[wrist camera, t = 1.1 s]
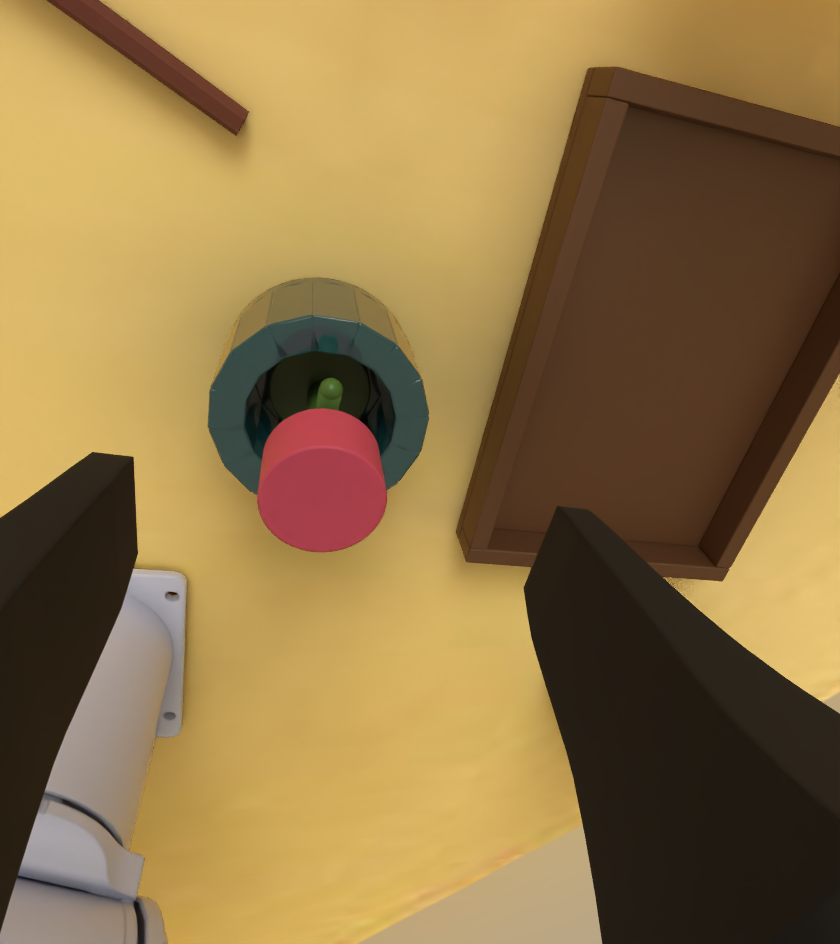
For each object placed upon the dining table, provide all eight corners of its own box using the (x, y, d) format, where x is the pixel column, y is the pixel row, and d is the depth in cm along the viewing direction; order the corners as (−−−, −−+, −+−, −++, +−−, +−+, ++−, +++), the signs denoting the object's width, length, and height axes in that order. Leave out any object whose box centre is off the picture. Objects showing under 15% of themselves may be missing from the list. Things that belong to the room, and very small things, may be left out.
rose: (360, 424, 22) (378, 561, 16) (266, 413, 22) (247, 551, 15) (378, 323, 21) (407, 432, 14) (276, 307, 20) (260, 414, 14)
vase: (392, 458, 24) (405, 520, 21) (220, 439, 23) (204, 502, 19) (427, 294, 21) (449, 335, 18) (230, 261, 20) (213, 299, 16)
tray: (699, 552, 29) (723, 582, 27) (455, 531, 26) (465, 563, 25) (908, 152, 21) (961, 159, 19) (587, 67, 18) (615, 66, 17)
